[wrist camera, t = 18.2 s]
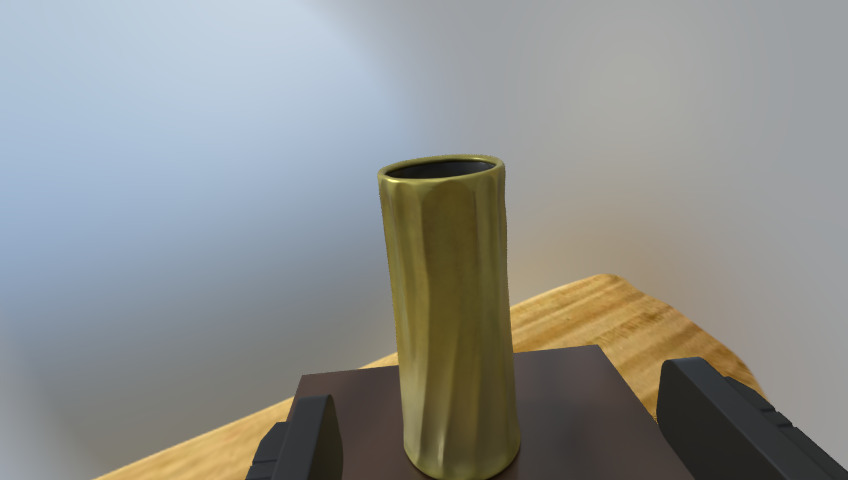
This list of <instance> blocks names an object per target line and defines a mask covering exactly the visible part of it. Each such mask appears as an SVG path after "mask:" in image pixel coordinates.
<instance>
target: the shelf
mask: <svg viewBox="0 0 848 480" xmlns="http://www.w3.org/2000/svg"><path fill="white" fill-rule="evenodd" d="M513 356H514V373H515V390H516V404H517V418H518V423H519V427H520V432H521V441H520V446H519V449H518V451H517V454H516V456H515V458H514V459H513V461H512V462H511V463H510V464H509V465H508V466H507V467H506V468H505V469H504V470H503V471H501V472H500V473H498V474H497V475H495V476H493V477H491V478H489V479H486V480H695V479H694V477H693V476H692V475H691V473H690V472H689V471H688V469H687V468H686V467H685V465H684V464H683V463H682V461H681V460H680V458H679V457H678V456H677V454H676V453H675V452H674V450H673V449H672V448H671V446H670V445H669V444H668V442H667V441H666V439H665V438H664V436H663V434H662V432H661V430H660V428H659V426H658V424H657V423H656V422H655V420H654V419H653V418H652V416H651V415H650V414H649V412H648V411H647V410H646V408H645V407H644V406H643V404H642V403H641V402H640V400H639V399H638V398H637V396H636V395H635V394H634V392H633V391H632V390H631V388H630V387H629V386H628V384H627V383H626V382H625V380H624V379H623V378H622V376H621V375H620V374H619V372H618V371H617V370H616V368H615V367H614V366H613V364H612V363H611V362H610V360H609V359H608V358H607V356H606V355H605V354H604V352H603V351H602V350H601V348H600V347H599V346H598V345H587V346H578V347H568V348H559V349H549V350H539V351H530V352H520V353H513ZM325 394H331V395H332V396H333V399H334V404H335V409H336V414H337V418H338V423H339V428H340V433H341V438H342V443H343V473H342V479H341V480H437V479H434V478H432V477H430V476H428V475H426V474H425V473H423V472H422V471H420V470H419V469H418V468H417V467H416V466H415V465H414V464H413V463H412V462H411V460H410V459H409V457H408V455H407V453H406V451H405V449H404V422H403V412H402V399H401V387H400V374H399V365H396V366H386V367H376V368H367V369H357V370H349V371H338V372H330V373H319V374H310V375H302V377H301V380H300V382H299V385H298V388H297V391H296V394H295V397H294V400H293V403H292V406H291V409H290V412H289V414H288V417H287V420H286V422H287V421H291V418H292V415H293V412H294V409H295V406H296V403H297V400H298V399H299V398H300V397H306V396H316V395H325Z"/></svg>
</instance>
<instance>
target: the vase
mask: <svg viewBox="0 0 848 480" xmlns="http://www.w3.org/2000/svg"><path fill="white" fill-rule="evenodd" d="M377 177H378V185H379V195H380V201H381V209H382V216H383V225H384V233H385V241H386V249H387V257H388V264H389V272H390V280H391V288H392V299H393V308H394V318H395V328H396V340H397V351H398V362H399V374H400V387H401V399H402V412H403V422H404V449H405V451H406V453H407V455H408V457H409V459H410V460H411V462H412V463H413V464H414V465H415V466H416V467H417V468H418V469H419V470H420V471H422V472H423V473H425V474H426V475H428V476H430V477H432V478H434V479H437V480H486V479H489V478H491V477H493V476H495V475H497V474H498V473H500V472H501V471H503V470H504V469H505V468H506V467H507V466H508V465H509V464H510V463H511V462H512V461H513V459H514V458H515V456H516V454H517V451H518V449H519V446H520V441H521V432H520V427H519V423H518V418H517V404H516V390H515V373H514V356H513V346H512V334H511V321H510V306H509V292H508V277H507V222H506V208H505V165H504V163H503V161H502V160H500V159H499V158H497V157H493V156H487V155H470V154H468V155H467V154H461V155H460V154H459V155H442V156H432V157H424V158H418V159H411V160H406V161H402V162H398V163H394V164H391V165H388V166H386V167H383V168H382V169H380V170H379V172H378V174H377Z"/></svg>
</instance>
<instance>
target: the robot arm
mask: <svg viewBox="0 0 848 480" xmlns="http://www.w3.org/2000/svg"><path fill="white" fill-rule="evenodd" d="M656 415H657V421H658V425H659V428H660V430H661V432H662V434H663V436H664V438H665V439H666V441H667V442H668V444H669V445H670V446H671V448H672V449H673V450H674V452H675V453H676V454H677V456H678V457H679V458H680V460H681V461H682V463H683V464H684V465H685V467H686V468H687V469H688V471H689V472H690V473H691V475H692V476H693V477H694V479H695V480H848V471H846V470H845V469H844V468H843V467H842V466H841V465H839V464H838V463H837V462H836V461H835V460H834V459H833V458H832V457H830V456H829V455H828V454H827V453H826V452H825V451H823V450H822V449H821V448H820V447H819V446H817V444H815V443H814V442H813V441H812V440H811V439H810V438H809V437H807V436H806V435H805V434H804V433H803V432H802V431H800V430H799V429H798V428H797V427H793V425H792V423H791V422H790V421H789V420H788V419H787V418H786V417H785V416H783V415H782V414H781V413H780V412H776V411H775V408H774V407H773V406H772V405H771V404H770V403H769V402H767V401H766V400H765V399H764V398H763V397H762V396H761V395H759V394H758V393H757V392H756V391H755V390H753V389H751V388H749V387H748V386H746V385H744V384H742V383H740V382H738V381H736V380H735V379H733V378H731V377H729V376H727V377H723V376H722V375H721V374H720V373H719V372H718V371H717V370H716V369H714V368H713V367H712V366H711V365H710V364H709V363H708V362H707V361H706V360H704V359H703V358H701V357H690V358H681V359H671V360H666V361H664V363H663V364H662V368H661V376H660V384H659V392H658V400H657V409H656ZM342 473H343V443H342V438H341V433H340V428H339V423H338V418H337V414H336V409H335V404H334V399H333V396H332V395H331V394H325V395H316V396H306V397H300V398H299V399H298V400H297V403H296V406H295V409H294V412H293V415H292V418H291V421H287V422H277V423H276V424H275V425H274V426H273V427H272V429H271V430H270V431H269V432H268V433H267V434H266V435H265V437H264V438H263V439H262V440H261V441H260V444H259V446H258V449H257V451H256V454H255V456H254V459H253V461H252V466H250V469H249V471H248V474H247V476H246V479H245V480H341V479H342Z"/></svg>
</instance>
